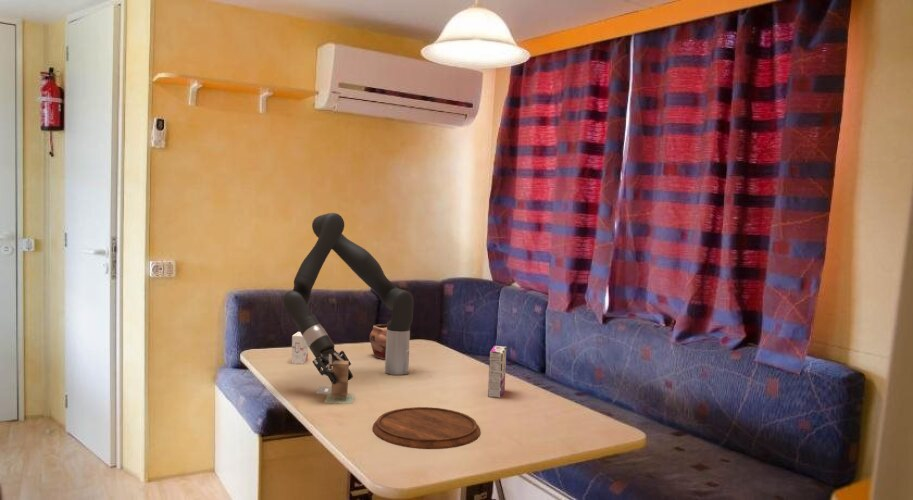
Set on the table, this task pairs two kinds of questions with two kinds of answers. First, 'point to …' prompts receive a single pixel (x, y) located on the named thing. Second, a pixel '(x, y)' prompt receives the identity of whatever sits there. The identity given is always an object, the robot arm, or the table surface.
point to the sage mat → (339, 399)
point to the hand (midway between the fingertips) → (343, 380)
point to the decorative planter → (379, 340)
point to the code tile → (324, 390)
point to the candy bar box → (497, 371)
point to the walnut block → (340, 379)
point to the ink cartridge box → (299, 349)
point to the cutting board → (426, 428)
